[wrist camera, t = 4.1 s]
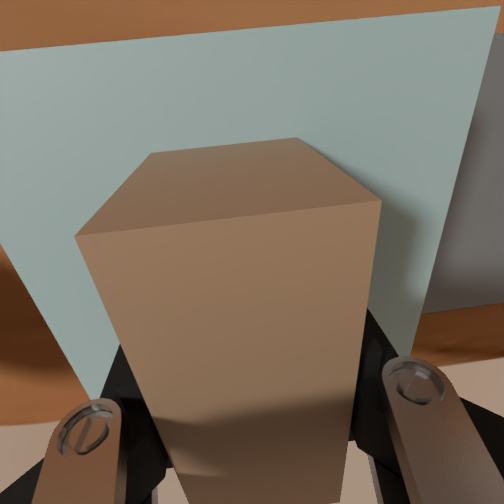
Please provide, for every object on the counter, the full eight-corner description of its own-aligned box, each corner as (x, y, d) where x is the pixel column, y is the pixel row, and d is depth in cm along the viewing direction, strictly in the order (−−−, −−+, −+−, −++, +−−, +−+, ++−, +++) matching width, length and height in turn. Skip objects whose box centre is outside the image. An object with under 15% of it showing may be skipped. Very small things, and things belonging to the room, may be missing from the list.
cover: (471, 13, 8) (920, -104, 3) (392, 364, 15) (483, 512, 10) (-68, 63, 8) (-699, 27, 2) (111, 403, 15) (52, 581, 9)
